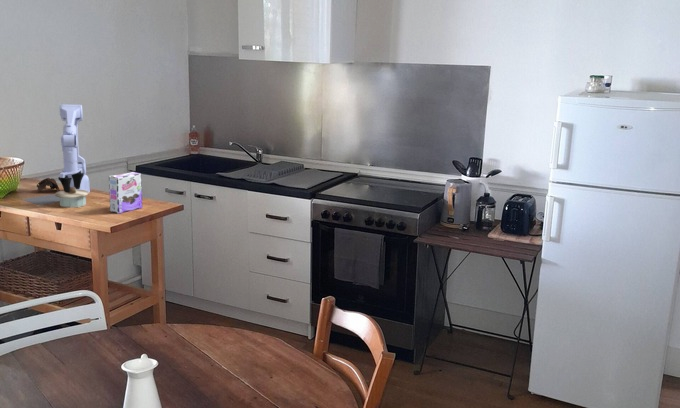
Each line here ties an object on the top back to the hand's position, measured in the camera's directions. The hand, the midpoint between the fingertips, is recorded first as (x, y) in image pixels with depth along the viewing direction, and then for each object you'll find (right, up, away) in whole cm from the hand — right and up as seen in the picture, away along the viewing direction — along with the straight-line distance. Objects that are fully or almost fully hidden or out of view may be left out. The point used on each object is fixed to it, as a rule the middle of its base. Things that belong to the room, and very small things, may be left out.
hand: (72, 190), depth 290 cm
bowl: (0, -7, +2) cm, 7 cm away
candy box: (+26, -9, -2) cm, 27 cm away
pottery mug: (-22, 0, +25) cm, 33 cm away
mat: (-15, -5, +8) cm, 18 cm away
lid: (0, -2, +1) cm, 2 cm away
